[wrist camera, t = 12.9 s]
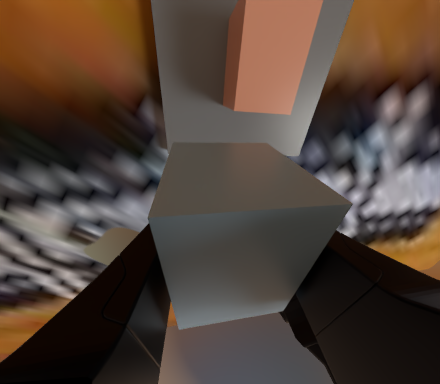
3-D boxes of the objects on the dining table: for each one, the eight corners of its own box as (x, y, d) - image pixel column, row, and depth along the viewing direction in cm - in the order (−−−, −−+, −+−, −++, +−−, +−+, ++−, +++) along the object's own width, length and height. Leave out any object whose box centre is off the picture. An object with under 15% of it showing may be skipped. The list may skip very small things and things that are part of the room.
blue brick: (248, 228, 11) (282, 310, 7) (183, 233, 10) (179, 329, 6) (266, 142, 8) (352, 204, 4) (173, 142, 7) (148, 217, 3)
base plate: (293, 152, 21) (298, 156, 20) (169, 150, 18) (168, 153, 17) (359, -46, 12) (374, -59, 11) (142, -107, 10) (136, -130, 9)
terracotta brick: (265, 108, 16) (290, 114, 12) (222, 105, 15) (234, 110, 11) (281, 27, 13) (324, -3, 9) (229, 18, 12) (248, -20, 8)
